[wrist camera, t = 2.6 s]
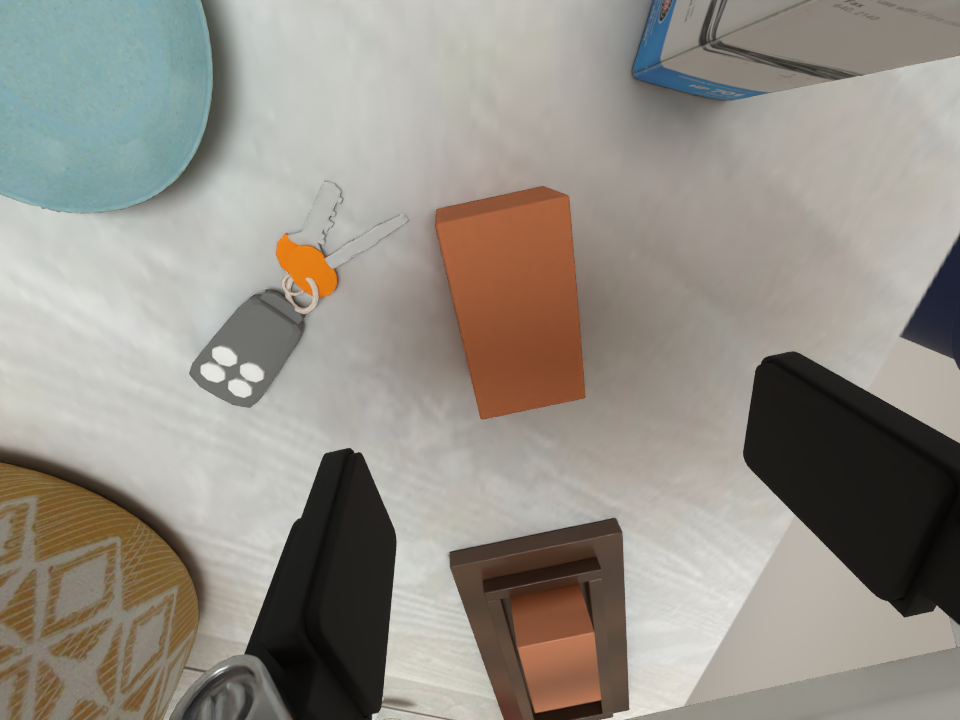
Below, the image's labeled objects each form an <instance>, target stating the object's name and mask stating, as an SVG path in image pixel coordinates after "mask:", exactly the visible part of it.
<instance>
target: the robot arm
mask: <svg viewBox="0 0 960 720" xmlns="http://www.w3.org/2000/svg"><path fill="white" fill-rule="evenodd" d="M743 456H744V460H745V462H746V464H747V466H748V467H749V468H750V469H751V470H752V471H753V472H754V473H755V474H756V475H757V476H758V477H759V478H760V479H761V480H762V481H763V482H764V483H765V484H766V485H767V486H768V487H769V488H770V489H771V490H772V492H773V493H774V494H775V495H776V496H777V497H778V498H779V499H780V500H781V501H782V502H783V503H784V504H785V505H786V506H787V507H788V508H789V509H790V510H791V511H792V512H793V513H794V514H795V515H796V516H797V517H798V518H799V519H800V520H801V521H802V522H803V523H804V524H805V525H806V526H807V527H808V528H809V529H810V530H811V531H812V532H813V533H814V534H815V535H816V536H817V537H818V538H819V539H820V540H821V541H822V542H823V543H824V544H825V545H826V546H827V547H828V548H829V549H830V550H831V551H832V552H833V553H834V554H835V555H836V556H837V557H838V558H839V559H840V560H841V561H842V562H843V563H844V564H845V565H846V567H848V568H849V570H851V572H852V573H853V574H854V575H855V576H856V577H858V579H859V580H860V581H861V582H862V583H863V584H865V586H866V587H867V588H868V589H869V590H870V591H871V592H872V593H874V594H875V595H876V596H877V597H879V598H880V599H882V600H886V601H888V602H890V603H891V604H892V606H894V608H895V609H897V611H898V612H900V613H901V614H902V615H903V616H904V617H909V616H913V615H918V614H922V613H927V612H931V611H934V609H935V607H936V605H937V606H938V607H939V608H941V609H942V610H943V611H944V612H945V613H946V614H947V615H948V616H949V618H950V623H951V626H952V631H953V635H954V639H955V643H956V648H952V649H947V650H942V651H938V652H933V653H929V654H924V655H919V656H914V657H910V658H905V659H900V660H896V661H891V662H886V663H881V664H877V665H872V666H867V667H863V668H858V669H853V670H849V671H844V672H840V673H835V674H830V675H826V676H821V677H816V678H812V679H807V680H803V681H798V682H794V683H789V684H784V685H780V686H775V687H771V688H766V689H762V690H757V691H752V692H748V693H744V694H739V695H734V696H730V697H725V698H721V699H716V700H712V701H707V702H703V703H698V704H693V705H689V706H684V707H680V708H675V709H671V710H666V711H662V712H657V713H653V714H648V715H644V716H639V717H635V718H630V719H626V720H960V443H958V442H956V441H954V440H952V439H951V438H949V437H947V436H946V435H944V434H942V433H940V432H938V431H937V430H935V429H933V428H931V427H930V426H928V425H926V424H924V423H922V422H921V421H919V420H917V419H915V418H914V417H912V416H910V415H908V414H907V413H905V412H903V411H901V410H899V409H898V408H896V407H894V406H892V405H891V404H889V403H887V402H885V401H883V400H882V399H880V398H878V397H876V396H875V395H873V394H871V393H869V392H867V391H866V390H864V389H862V388H860V387H858V386H857V385H855V384H853V383H851V382H850V381H848V380H846V379H844V378H842V377H841V376H839V375H837V374H835V373H834V372H832V371H830V370H828V369H826V368H825V367H823V366H821V365H819V364H818V363H816V362H814V361H812V360H810V359H809V358H807V357H805V356H803V355H802V354H800V353H797V352H786V353H781V354H777V355H772V356H768V357H766V358H764V359H763V360H762V362H761V365H759V366H758V367H757V368H756V371H755V377H754V384H753V391H752V397H751V404H750V410H749V417H748V424H747V430H746V437H745V444H744V450H743ZM395 556H396V534H395V530H394V527H393V525H392V522H391V520H390V518H389V515H388V513H387V511H386V508H385V506H384V504H383V501H382V499H381V497H380V494H379V492H378V490H377V487H376V485H375V483H374V480H373V478H372V476H371V473H370V471H369V469H368V466H367V464H366V462H365V459H364V457H363V455H362V454H361V453H360V452H358V453H354V451H353V450H352V449H351V448H347V449H342V450H338V451H333V452H329V453H326V454H324V456H323V458H322V461H321V463H320V466H319V469H318V472H317V475H316V477H315V480H314V483H313V486H312V489H311V492H310V494H309V497H308V500H307V503H306V506H305V508H304V511H303V514H302V517H301V518H300V519H298V520H297V521H296V522H294V524H293V526H292V528H291V530H290V533H289V536H288V538H287V541H286V544H285V546H284V549H283V552H282V554H281V557H280V560H279V563H278V565H277V568H276V571H275V573H274V576H273V579H272V581H271V584H270V587H269V589H268V592H267V595H266V597H265V600H264V603H263V606H262V608H261V611H260V614H259V616H258V619H257V622H256V624H255V627H254V630H253V632H252V635H251V638H250V640H249V643H248V646H247V649H246V651H245V654H244V655H237V656H233V657H231V658H228V659H226V660H224V661H221V662H219V663H218V664H216V665H215V666H214V667H212V668H211V669H209V670H208V671H207V672H205V673H204V674H203V675H202V676H201V677H200V678H199V679H198V680H197V681H196V682H195V683H194V684H193V685H192V686H191V687H190V688H189V689H188V691H187V692H186V693H185V695H184V696H183V697H182V699H181V700H180V701H179V703H178V704H177V705H176V707H175V709H174V711H173V713H172V715H171V717H170V719H169V720H372V714H376V713H379V711H380V709H381V705H382V698H383V687H384V676H385V665H386V654H387V643H388V632H389V621H390V610H391V599H392V589H393V578H394V567H395Z"/></svg>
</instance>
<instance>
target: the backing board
mask: <svg viewBox="0 0 960 720" xmlns="http://www.w3.org/2000/svg"><path fill="white" fill-rule="evenodd" d="M450 568H451V571H452V574H453V577H454V580H455V583H456V585H457V588H458V591H459V594H460V597H461V600H462V602H463V605H464V608H465V611H466V614H467V616H468V619H469V622H470V625H471V628H472V631H473V633H474V636H475V639H476V642H477V645H478V648H479V650H480V653H481V656H482V659H483V662H484V665H485V667H486V670H487V673H488V676H489V679H490V682H491V684H492V687H493V690H494V693H495V696H496V698H497V701H498V704H499V707H500V710H501V713H502V715H503V718H504V720H601V719H606V718H611V717H613V713H617V712H622V711H627V710H629V691H628V665H627V640H626V614H625V588H624V562H623V536H622V530H621V528H620V526H619V524H618V522H617V520H616V519H611V520H606V521H601V522H597V523H592V524H587V525H582V526H577V527H572V528H567V529H562V530H558V531H553V532H548V533H543V534H538V535H533V536H528V537H523V538H519V539H514V540H509V541H504V542H499V543H494V544H489V545H484V546H480V547H475V548H470V549H465V550H460V551H455V552H451V553H450Z"/></svg>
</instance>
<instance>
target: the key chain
mask: <svg viewBox="0 0 960 720" xmlns="http://www.w3.org/2000/svg"><path fill="white" fill-rule="evenodd" d="M341 192H342V191H341V190H340V189H339V188H338V187H337V186H336V184H334V183H330V182H326V181H324V183H323V185H322V187H321V189H320V192H319V194H318V196H317V198H316V200H315V202H314V205H313V207H312V209H311V211H310V213H309V215H308V218H307V220H306V222H305V224H304V226H303V228H302V231H301V232H298V233H294V234H290V235H288V234H287V233H286V234H285V235H284V236H283V237H282V238H281V239H280V240H279V242H278V243H277V251H276V256H277V258H278V260H279V263H280V265H281V267H282V268H283V269H284V270H286V271H287V272H288V273H289V274H286V275H285V276H284V277H283V279H282V282H281V283H282V288H283V289H284V291H285V297H286V298H285V297H283V296H282V295H280V294H279V293H278V292H275V291H270V290H266V291H265V292H263V294H262V295H254V296H252V297H251V298H250V299H249V300H247V301H246V302H245V303H244V304H242V305H241V306H240V307H239V308H238V309H237V310H236V311H235V313H234V314H233V315H232V316H231V317H230V319H229V320H228V321H227V322H226V323H225V324H224V326H223V327H222V328H221V329H220V330H219V332H218V333H217V334H216V335H215V336H214V338H213V339H212V340H211V341H210V343H209V344H208V345H207V346H206V347H205V349H204V350H203V351H202V352H201V354H200V355H199V356H198V357H197V358H196V360H195V361H194V362H193V364H192V366H191V369H190V372H189V374H190V375H191V377H192V378H193V379H194V380H195V381H196V383H197V384H198V385H199V386H200V387H202V388H203V389H205V390H207V391H208V392H210V393H212V394H213V395H215V396H217V397H219V398H221V399H223V400H225V401H227V402H229V403H231V404H233V405H237V406H242V407H249V408H250V407H252V406H253V405H254V404H255V403H257V402H258V401H259V400H260V398H261V397H262V396H263V394H264V393H265V391H266V390H267V388H268V387H269V385H270V384H271V382H272V381H273V379H274V378H275V376H276V375H277V373H278V372H279V370H280V369H281V367H282V366H283V364H284V363H285V361H286V360H287V358H288V357H289V355H290V354H291V352H292V350H293V349H294V347H295V346H296V344H297V343H298V341H299V340H300V338H301V335H302V333H303V330H304V326H303V324H302V322H301V321H302V320H303V318H304V317H305V315H304V314H306V313H310V312H311V311H312V310H313V309H314V308H315V307H316V306H317V303H318V299H319V297H324V296H327V295H330V294H331V293H332V292H333V291H334V290H335V288H336V285H337V281H338V279H337V275H336V271H335V270H334V269H335V268H336V267H338V266H340V265H341V264H343V263H345V262H346V261H348V260H350V259H351V258H353V257H352V256H354V255H355V254H357V253H359V252H360V251H361V252H363V251H365V250H366V249H368V248H370V247H371V246H373V245H375V244H376V243H378V241H379V240H380V239H382V238H384V237H385V236H387V235H389V234H390V233H392V232H393V231H394V230H396V229H397V228H399V227H400V226H402V225H403V224H404V223H406V222H407V221H408V219H407V218H406V215H405V214H404V213H403V214H401V215H399V216H397V217H395V218H393V219H391V220H389V221H387V222H385V223H383V224H381V223H380V224H378V225H377V226H375V227H373V228H372V229H370V231H369V232H368V233H366V234H364V235H363V236H361V237H359V238H358V239H356V240H354V239H353V240H352V241H350V242H348V243H347V244H345V245H344V247H343V248H341V249H339V250H338V251H336V252H334V253H333V254H331V255H329V256H328V257H326V258H325V255H323V253H322V250H321V248H320V245H319V243H320V244H321V245H324V242H325V240H324V237H325V234H323V233H322V232H323V230H324V229H325V230H326V231H328V229H329V227H331V228H332V226H333V224H334V223H333V222H332V221H330V220H329V217H330V216H332V217H334V216H335V214H336V212H335V211H333V209H334V207H335V205H336V203H337V202H339V203H340V204H341V202H342V200H343V198H341V197H340V195H341ZM288 277H290V278H289V279H288V280H287V282H286V279H287V278H288ZM285 282H286V285H285ZM293 282H295V283H296V284H297V285H298V286H299V287H300V288H301V290H300V291H299V292H296V293H295V292H291V288H292V284H293ZM304 291H305V292H307V293H308V294H310V295H312V296H313V299H312V302H311V304H310V305H309V306H308V307H306V308H301V307H298V306H297V305H296V304H295V303H294V301H293V299H292V296H298V295H301V294H302V293H303V292H304ZM291 295H292V296H291Z"/></svg>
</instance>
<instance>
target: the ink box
mask: <svg viewBox="0 0 960 720" xmlns="http://www.w3.org/2000/svg"><path fill="white" fill-rule="evenodd" d="M959 55H960V0H654V2H653V5H652V9H651V12H650V15H649V18H648V22H647V25H646V28H645V32H644V35H643V38H642V41H641V45H640V48H639V51H638V54H637V57H636V61H635V64H634V67H633V71H632V73H633V76H634V77H635V79H639V80H642V81H645V82H649V83H652V84H656V85H659V86H663V87H667V88H670V89H674V90H678V91H682V92H685V93H689V94H693V95H698V96H703V97H708V98H713V99H720V100H736V99H741V98H747V97H752V96H756V95H761V94H766V93H772V92H777V91H783V90H788V89H792V88H798V87H803V86H808V85H813V84H818V83H823V82H829V81H835V80H840V79H845V78H850V77H855V76H862V75H866V74H871V73H876V72H880V71H885V70H890V69H895V68H900V67H904V66H909V65H914V64H919V63H924V62H930V61H935V60H940V59H945V58H950V57H954V56H959Z"/></svg>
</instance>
